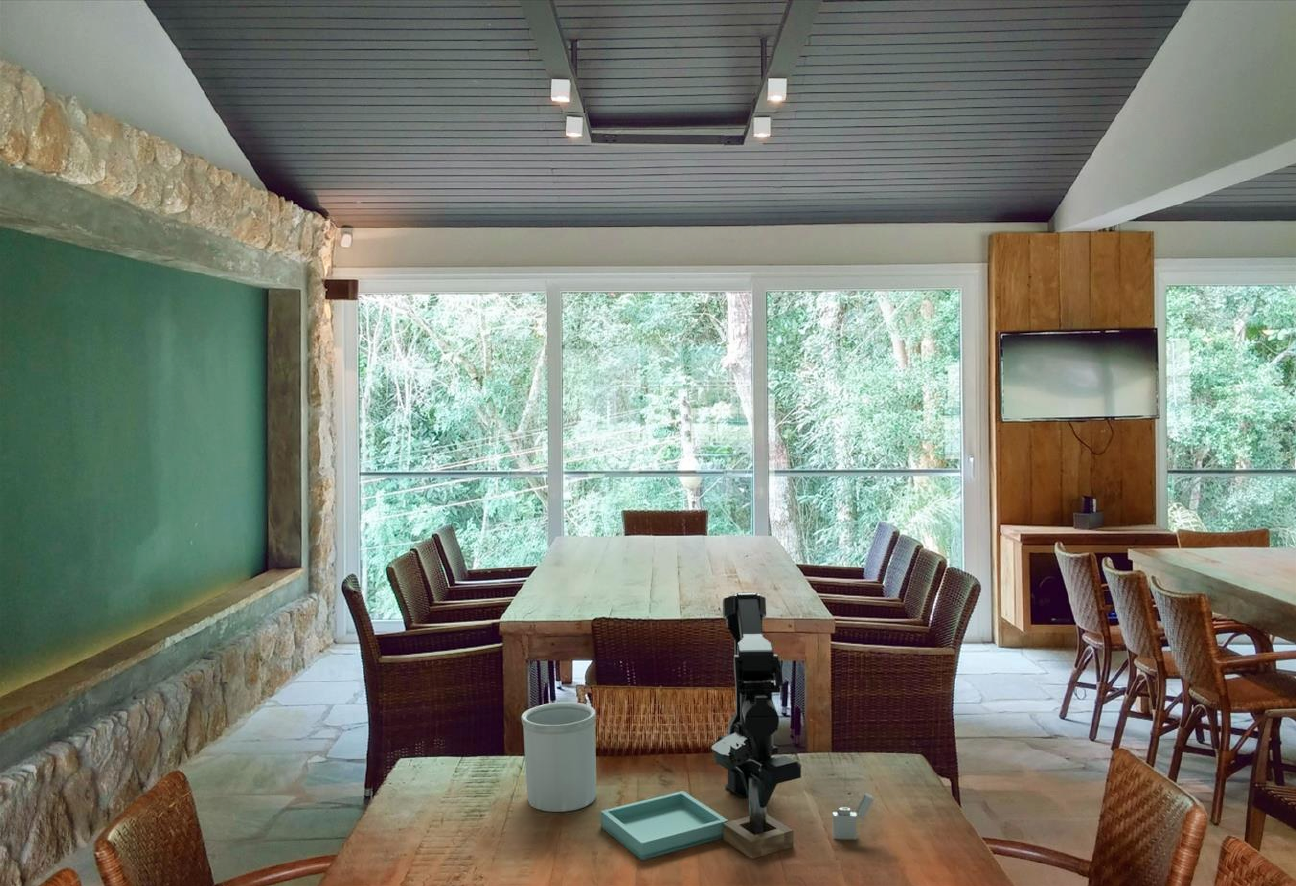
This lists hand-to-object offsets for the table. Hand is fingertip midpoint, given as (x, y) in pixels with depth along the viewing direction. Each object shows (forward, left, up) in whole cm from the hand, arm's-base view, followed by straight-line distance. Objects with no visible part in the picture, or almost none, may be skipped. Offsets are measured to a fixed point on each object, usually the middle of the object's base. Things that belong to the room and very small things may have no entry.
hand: (757, 803), depth 183 cm
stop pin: (0, 0, -5) cm, 5 cm away
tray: (+12, -13, -7) cm, 19 cm away
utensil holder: (+22, -37, -7) cm, 44 cm away
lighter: (-16, +7, -7) cm, 19 cm away
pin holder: (0, 0, -7) cm, 7 cm away
